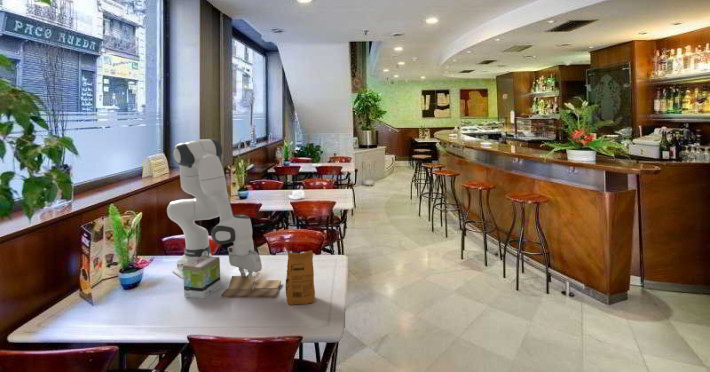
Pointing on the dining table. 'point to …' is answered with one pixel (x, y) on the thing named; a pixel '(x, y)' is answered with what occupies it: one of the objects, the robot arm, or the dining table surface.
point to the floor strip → (249, 293)
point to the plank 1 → (241, 282)
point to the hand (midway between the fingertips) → (246, 277)
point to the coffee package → (300, 278)
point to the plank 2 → (267, 284)
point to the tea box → (201, 276)
